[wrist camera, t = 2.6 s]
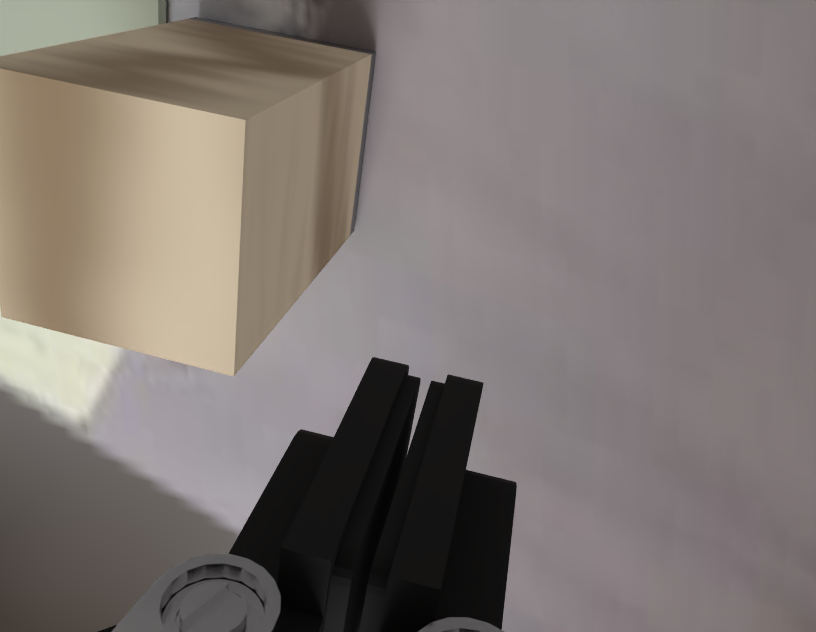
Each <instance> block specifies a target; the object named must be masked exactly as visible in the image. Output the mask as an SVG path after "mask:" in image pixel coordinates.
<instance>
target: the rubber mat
mask: <svg viewBox="0 0 816 632" xmlns="http://www.w3.org/2000/svg"><path fill="white" fill-rule="evenodd" d="M164 23H166V0H0V56H4V55H9V54H14V53H19V52H24V51H29V50H34V49H39V48H44V47H49V46H54V45H59V44H64V43H69V42H74V41H79V40H84V39H89V38H94V37H99V36H104V35H109V34H114V33H119V32H124V31H129V30H134V29H139V28H144V27H149V26H154V25H159V24H164Z"/></svg>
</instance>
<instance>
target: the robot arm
mask: <svg viewBox="0 0 816 632" xmlns="http://www.w3.org/2000/svg"><path fill="white" fill-rule="evenodd" d="M408 372H409V365H405V364H401V363H397V362H392V361H388V360H384V359H379V358H375V357H373V358H372V359H371V361H370V363H369V365H368V367H367V369H366V372H365V374H364V376H363V378H362V380H361V382H360V384H359V386H358V388H357V390H356V392H355V394H354V397H353V399H352V401H351V403H350V405H349V407H348V409H347V411H346V413H345V415H344V417H343V419H342V421H341V424H340V426H339V428H338V430H337V432H336V434H335V436H334V437H330V436H326V435H322V434H318V433H314V432H310V431H306V430H302V429H301V430H300V431H298V432H297V434H296V435H295V436H294V438H293V440H292V441H291V443H290V445H289V447H288V449H287V450H286V452H285V454H284V456H283V458H282V459H281V461H280V463H279V465H278V466H277V468H276V470H275V472H274V474H273V475H272V477H271V479H270V481H269V483H268V484H267V486H266V488H265V490H264V491H263V493H262V495H261V497H260V499H259V500H258V502H257V504H256V506H255V508H254V509H253V511H252V513H251V515H250V516H249V518H248V520H247V522H246V524H245V525H244V527H243V529H242V531H241V532H240V534H239V536H238V538H237V540H236V541H235V543H234V545H233V547H232V549H231V550H230V552H229V554H207V555H202V556H198V557H193V558H190V559H187V560H185V561H183V562H181V563H179V564H177V565H175V566H173V567H172V568H170V569H169V570H168V571H167V572H166V573H164V574H163V575H162V576H161V577H160V578H159V579H158V580H157V581H156V582H155V583H154V584H153V585H152V586H151V588H150V589H149V590H148V591H147V592H146V593H145V594H144V595H143V597H142V598H141V599H140V600H139V601H138V602H137V603H136V604H135V606H134V607H133V608H132V609H131V610H130V611H129V612H128V613H127V615H126V616H125V617H124V618H123V619H122V620H121V622H120V623H119V624H118V625H115V626H112V627H109V628H107V629H104V630H101V631H99V632H504V631H502V630H501V629H502V620H503V610H504V601H505V592H506V582H507V573H508V564H509V554H510V545H511V536H512V526H513V517H514V508H515V498H516V487H517V485H516V482H513V481H509V480H505V479H501V478H497V477H493V476H489V475H485V474H480V473H476V472H472V471H468V470H466V466H467V461H468V456H469V451H470V446H471V441H472V437H473V432H474V427H475V422H476V417H477V412H478V407H479V403H480V398H481V393H482V388H483V383H482V382H478V381H474V380H469V379H465V378H461V377H457V376H452V375H447V379H446V382H445V384H444V383H440V382H435V381H431V383H430V386H429V389H428V393H427V396H426V399H425V402H424V405H423V408H422V411H421V414H420V417H419V420H418V423H417V427H416V430H415V433H414V436H413V439H412V442H411V445H410V448H409V451H408V445H409V440H410V435H411V429H412V424H413V419H414V413H415V408H416V402H417V397H418V392H419V386H420V378H418V377H414V376H410V375H408ZM407 451H408V454H407ZM406 456H407V457H406Z"/></svg>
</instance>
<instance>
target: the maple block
mask: <svg viewBox="0 0 816 632" xmlns="http://www.w3.org/2000/svg"><path fill="white" fill-rule="evenodd" d="M375 55H376V52H372V51H367V50H362V49H357V48H352V47H347V46H342V45H336V44H331V43H326V42H321V41H316V40H311V39H305V38H300V37H295V36H290V35H285V34H280V33H275V32H269V31H264V30H259V29H254V28H249V27H244V26H239V25H233V24H228V23H223V22H218V21H213V20H208V19H202V18H197V17H195V18H190V19H185V20H180V21H175V22H169V23H164V24H159V25H154V26H149V27H144V28H139V29H134V30H129V31H124V32H119V33H114V34H109V35H104V36H99V37H94V38H89V39H84V40H79V41H74V42H69V43H64V44H59V45H54V46H49V47H44V48H39V49H34V50H29V51H24V52H19V53H14V54H9V55H4V56H0V307H1V315H2V317H4V318H8V319H12V320H16V321H20V322H23V323H27V324H31V325H35V326H39V327H43V328H47V329H51V330H55V331H59V332H63V333H66V334H70V335H74V336H78V337H82V338H86V339H90V340H94V341H98V342H102V343H105V344H109V345H113V346H117V347H121V348H125V349H129V350H133V351H137V352H141V353H145V354H148V355H152V356H156V357H160V358H164V359H168V360H172V361H176V362H180V363H184V364H188V365H191V366H195V367H199V368H203V369H207V370H211V371H215V372H219V373H223V374H227V375H230V376H235V374H236V373H237V372H238V371H239V370H240V368H241V367H242V366H243V365H244V364H245V362H246V361H247V360H248V359H249V357H250V356H251V355H252V354H253V353H254V351H255V350H256V349H257V348H258V347H259V345H260V344H261V343H262V342H263V341H264V339H265V338H266V337H267V336H268V334H269V333H270V332H271V331H272V330H273V328H274V327H275V326H276V325H277V324H278V322H279V321H280V320H281V319H282V317H283V316H284V315H285V314H286V313H287V311H288V310H289V309H290V308H291V307H292V305H293V304H294V303H295V302H296V301H297V299H298V298H299V297H300V296H301V294H302V293H303V292H304V291H305V290H306V288H307V287H308V286H309V285H310V284H311V282H312V281H313V280H314V279H315V278H316V276H317V275H318V274H319V273H320V271H321V270H322V269H323V268H324V267H325V265H326V264H327V263H328V262H329V261H330V259H331V258H332V257H333V256H334V254H335V253H336V252H337V251H338V250H339V248H340V247H341V246H342V245H343V244H344V242H345V241H346V240H347V239H348V238H349V236H350V235H351V234H352V233H353V231H354V227H355V219H356V211H357V203H358V195H359V187H360V178H361V170H362V162H363V154H364V146H365V137H366V129H367V121H368V113H369V105H370V96H371V88H372V80H373V72H374V64H375Z"/></svg>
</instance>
